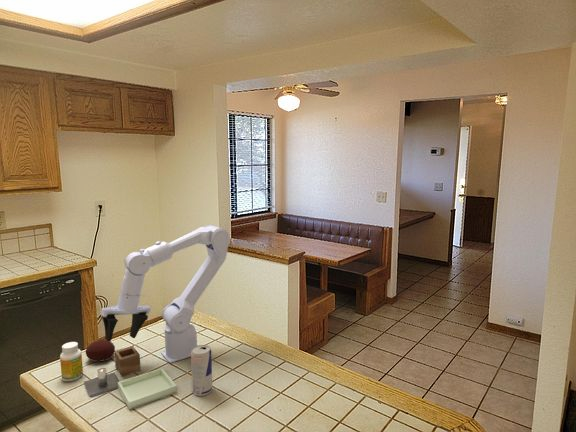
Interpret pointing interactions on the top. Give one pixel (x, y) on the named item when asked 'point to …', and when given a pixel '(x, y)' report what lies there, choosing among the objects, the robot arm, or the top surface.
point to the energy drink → (201, 370)
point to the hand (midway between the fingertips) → (120, 338)
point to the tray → (146, 388)
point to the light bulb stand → (101, 383)
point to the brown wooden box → (127, 360)
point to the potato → (100, 350)
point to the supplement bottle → (71, 362)
